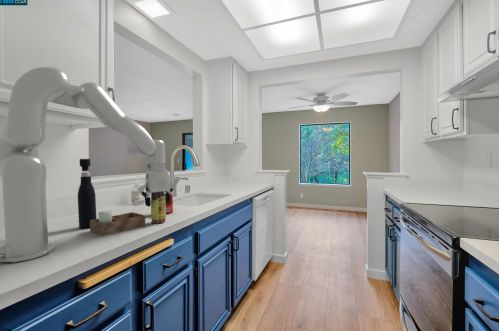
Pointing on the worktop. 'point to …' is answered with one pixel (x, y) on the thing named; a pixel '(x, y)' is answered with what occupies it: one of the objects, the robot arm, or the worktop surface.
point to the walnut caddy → (117, 224)
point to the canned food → (169, 205)
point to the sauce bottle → (158, 207)
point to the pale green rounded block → (105, 217)
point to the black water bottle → (86, 197)
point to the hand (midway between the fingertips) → (158, 204)
